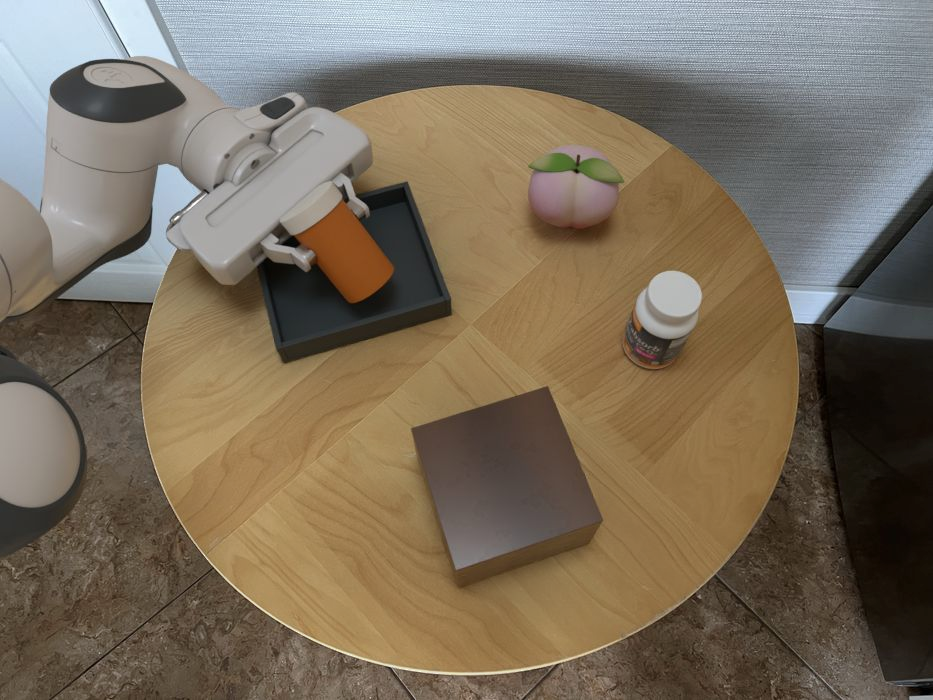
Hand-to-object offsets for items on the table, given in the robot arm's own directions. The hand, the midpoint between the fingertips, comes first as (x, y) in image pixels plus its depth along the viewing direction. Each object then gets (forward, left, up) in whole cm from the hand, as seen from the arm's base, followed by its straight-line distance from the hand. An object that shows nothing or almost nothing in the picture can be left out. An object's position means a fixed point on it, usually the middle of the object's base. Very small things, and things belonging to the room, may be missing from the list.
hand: (338, 239), depth 70 cm
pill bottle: (+26, -16, -8) cm, 32 cm away
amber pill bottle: (+2, -3, -4) cm, 6 cm away
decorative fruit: (+24, +1, -8) cm, 25 cm away
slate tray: (0, +1, -8) cm, 8 cm away
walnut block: (+7, -26, -8) cm, 28 cm away
